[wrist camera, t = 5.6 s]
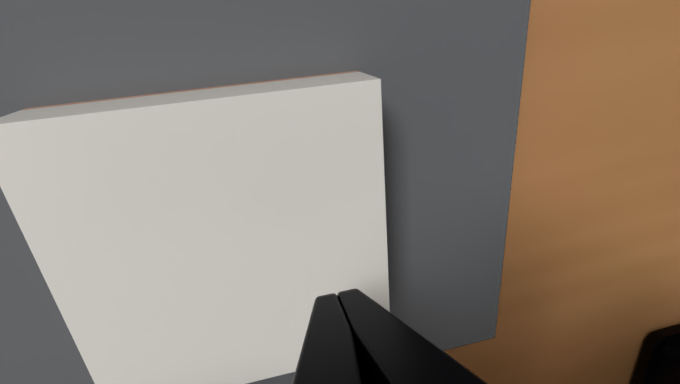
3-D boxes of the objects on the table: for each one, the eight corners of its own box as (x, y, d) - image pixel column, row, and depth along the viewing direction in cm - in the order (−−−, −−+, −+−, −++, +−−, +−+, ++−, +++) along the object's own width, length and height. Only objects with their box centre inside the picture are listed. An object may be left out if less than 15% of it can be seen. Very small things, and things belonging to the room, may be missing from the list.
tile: (391, 348, 12) (110, 417, 10) (371, 306, 14) (130, 359, 12) (380, 79, 9) (-28, 127, 7) (357, 70, 10) (26, 108, 9)
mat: (486, 327, 16) (495, 337, 16) (8, 445, 13) (-2, 463, 13) (531, -159, 10) (548, -170, 9) (-389, -152, 7) (-446, -168, 6)
